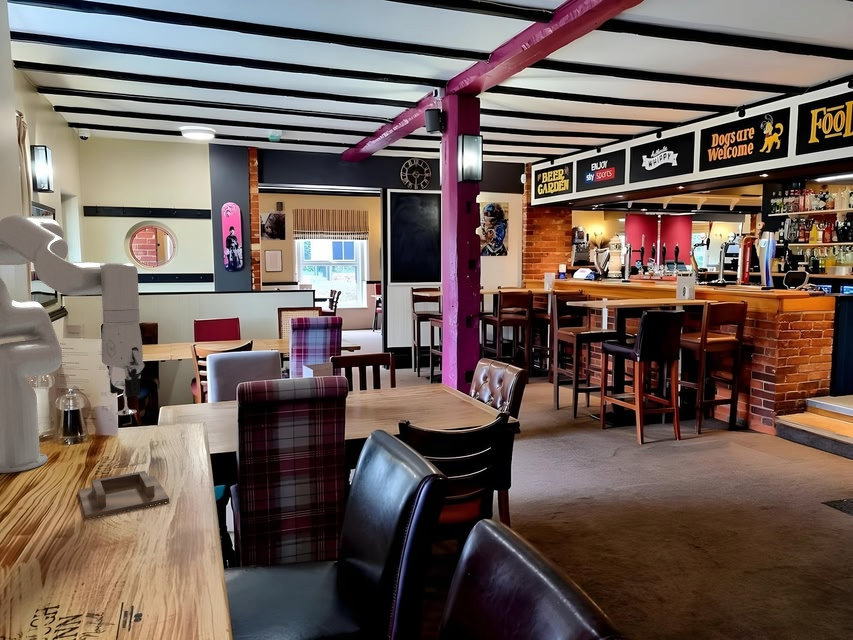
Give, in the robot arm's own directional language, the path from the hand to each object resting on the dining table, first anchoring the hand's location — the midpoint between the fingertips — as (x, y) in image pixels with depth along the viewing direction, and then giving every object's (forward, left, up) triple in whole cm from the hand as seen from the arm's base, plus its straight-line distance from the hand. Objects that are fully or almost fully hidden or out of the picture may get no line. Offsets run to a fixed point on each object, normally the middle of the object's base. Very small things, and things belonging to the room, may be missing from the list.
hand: (125, 393), depth 139 cm
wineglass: (0, 0, -5) cm, 5 cm away
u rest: (+4, -8, -22) cm, 23 cm away
